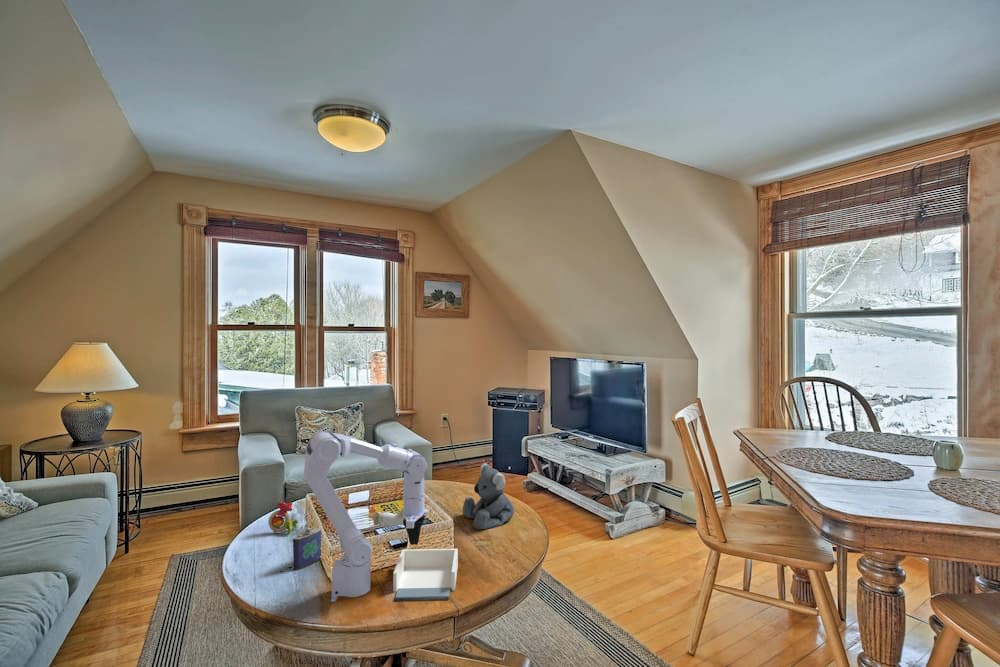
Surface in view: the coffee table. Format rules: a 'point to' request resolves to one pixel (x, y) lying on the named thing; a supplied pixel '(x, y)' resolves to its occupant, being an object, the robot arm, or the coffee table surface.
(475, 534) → the coffee table surface
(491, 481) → the koala plush
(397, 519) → the unicorn figurine
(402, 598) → the door panel
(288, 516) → the bird rattle
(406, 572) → the white cubby shelf
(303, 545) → the flask
